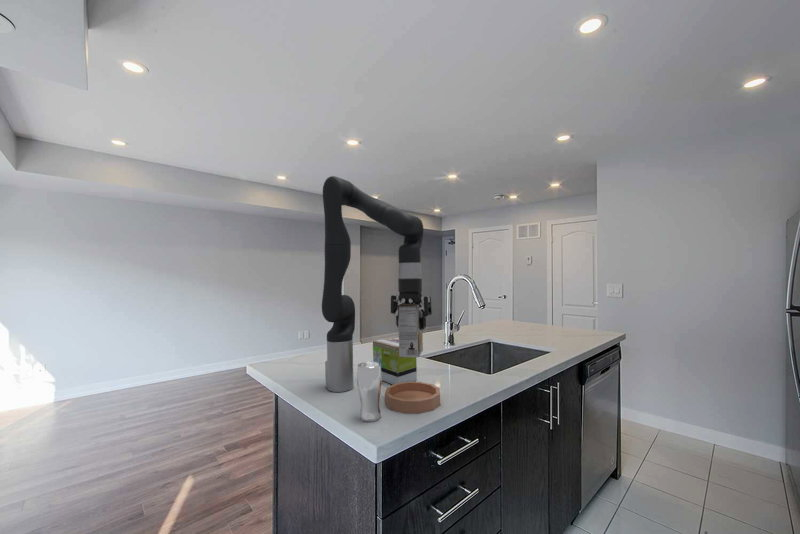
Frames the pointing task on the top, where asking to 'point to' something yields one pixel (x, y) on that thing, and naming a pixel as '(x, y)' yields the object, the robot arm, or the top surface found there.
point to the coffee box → (409, 330)
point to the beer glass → (369, 390)
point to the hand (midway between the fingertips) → (410, 328)
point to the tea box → (394, 362)
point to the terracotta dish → (412, 397)
